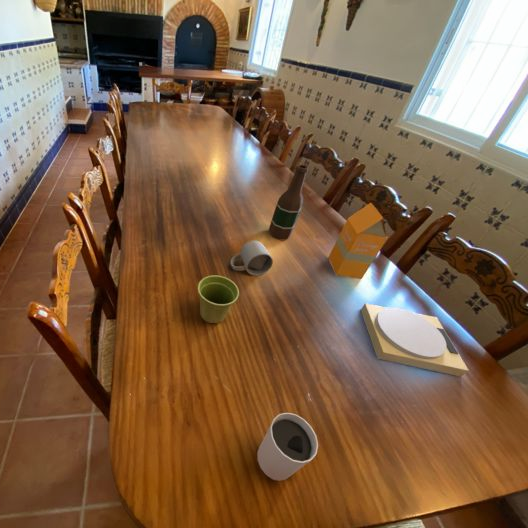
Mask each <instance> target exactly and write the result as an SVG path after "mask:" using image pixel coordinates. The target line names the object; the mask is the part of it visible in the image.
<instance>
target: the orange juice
mask: <svg viewBox="0 0 528 528" xmlns="http://www.w3.org/2000/svg"><path fill="white" fill-rule="evenodd" d="M387 240H388V236H387V231H386V226H385V221H384V217H383V215H382V214H381V213H380V212H379V210H378V209H377V208H376V207H375V205H374V204H373V203H372V202H369V203H367V204H366V205H364V206H363V207H362V208H361V209H359V210H357V211H356V212H355V213H353V214H351V215H350V216H349V217H347V219H346V222H345V223H344V225H343V228H342V229H341V231H340V233H339V235H338V237H337V238H336V241H335V243H334V245H333V247H332V249H331V251H330V253H329V255H328V260H329V263H330V265H331V267H332V269H333V272H334V274H335V276H338V277H339V276H340V277H347V278H353V279H360V280H363V277H364V276H365V275H366V274H367V271H368V270H369V268H370V267H371V265H372V264H373V262H374V261H375V259H376V258H377V256H378V255H379V253H380V251H381V249H382V248H383V246H384V245H385V243H386V242H387Z"/></svg>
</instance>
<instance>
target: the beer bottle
mask: <svg viewBox="0 0 528 528" xmlns="http://www.w3.org/2000/svg"><path fill="white" fill-rule="evenodd" d="M308 172H309V167H308V166H307V165H305V164H298V165H297V166H296V167H295V172H294V174H293V177H292V179H291V181H290V183H289V186H288V187H287V189H286V190H285V191H284V192H283V193H282V194H281V195H280V196H279V198H278V200H277V203H276V205H275V209H274V212H273V215H272V218H271V220H270V224H269V228H268V233H269V234H270V236H271V237H272V238H275V239H277V240H280V241H281V240H288V239H289V238H290V237H291V236H292V233H293V231H294V229H295V226H296V223H297V221H298V219H299V215H300V213H301V210H302V207H303V204H304V197H303V194H302V191H303V186H304V183H305V180H306V176H307V173H308Z"/></svg>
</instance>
